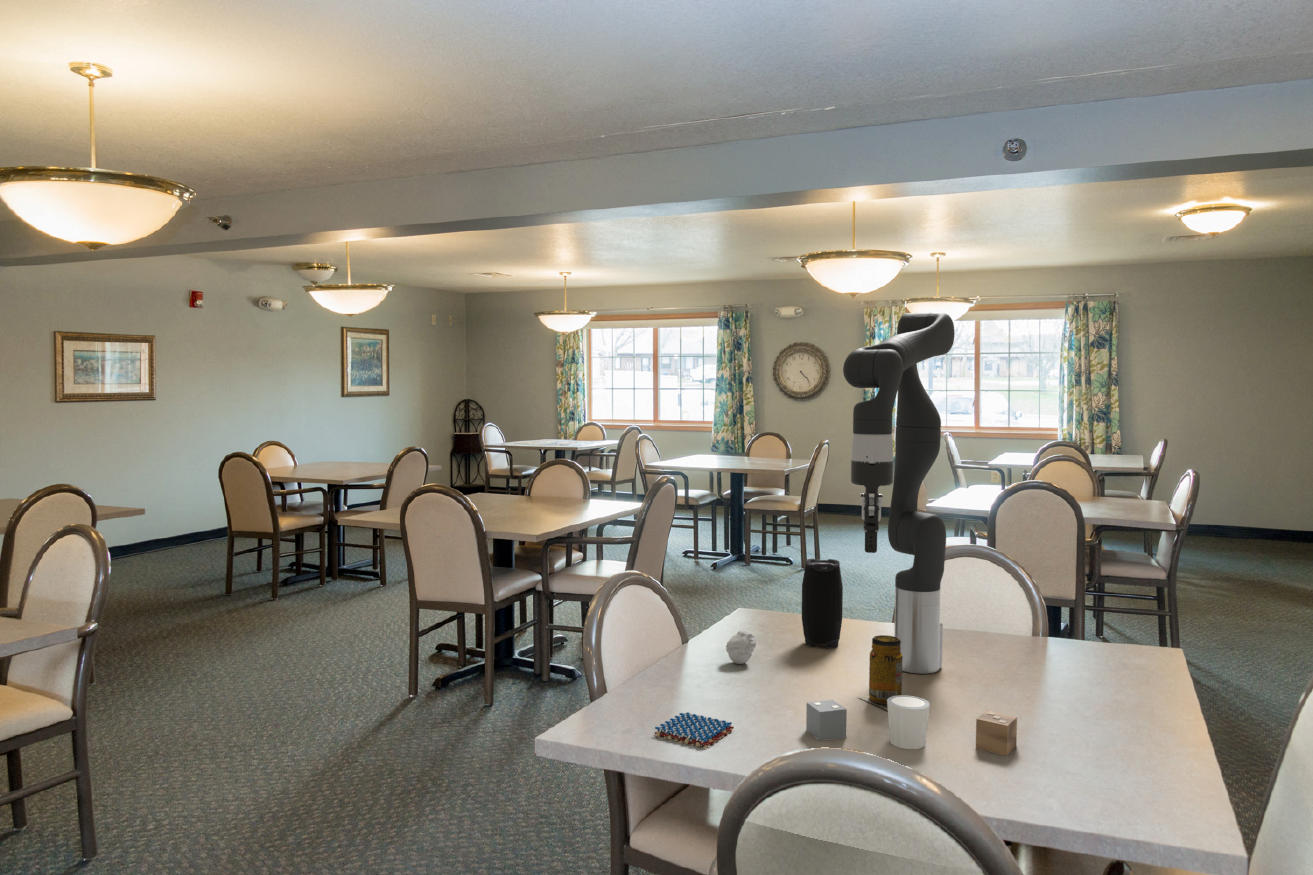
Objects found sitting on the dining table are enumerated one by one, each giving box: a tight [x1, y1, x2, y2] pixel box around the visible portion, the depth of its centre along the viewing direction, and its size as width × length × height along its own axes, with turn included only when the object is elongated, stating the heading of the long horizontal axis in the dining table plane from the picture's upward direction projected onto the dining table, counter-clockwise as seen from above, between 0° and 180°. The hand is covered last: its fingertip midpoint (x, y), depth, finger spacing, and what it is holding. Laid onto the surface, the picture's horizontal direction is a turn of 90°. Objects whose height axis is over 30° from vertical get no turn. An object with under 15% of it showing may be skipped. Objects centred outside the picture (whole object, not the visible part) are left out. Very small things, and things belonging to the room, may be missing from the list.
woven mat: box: [654, 711, 735, 749], centre depth 154 cm, size 10×11×2 cm
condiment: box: [858, 634, 903, 711], centre depth 170 cm, size 7×8×12 cm
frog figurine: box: [725, 629, 757, 665], centre depth 194 cm, size 6×7×7 cm
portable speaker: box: [801, 558, 844, 649], centre depth 209 cm, size 9×9×20 cm
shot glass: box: [887, 694, 931, 750], centre depth 150 cm, size 7×7×7 cm
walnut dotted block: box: [975, 710, 1018, 757], centre depth 148 cm, size 5×5×5 cm
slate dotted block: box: [805, 699, 848, 742], centre depth 154 cm, size 5×5×5 cm
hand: (870, 552), depth 166 cm, fingers closed
